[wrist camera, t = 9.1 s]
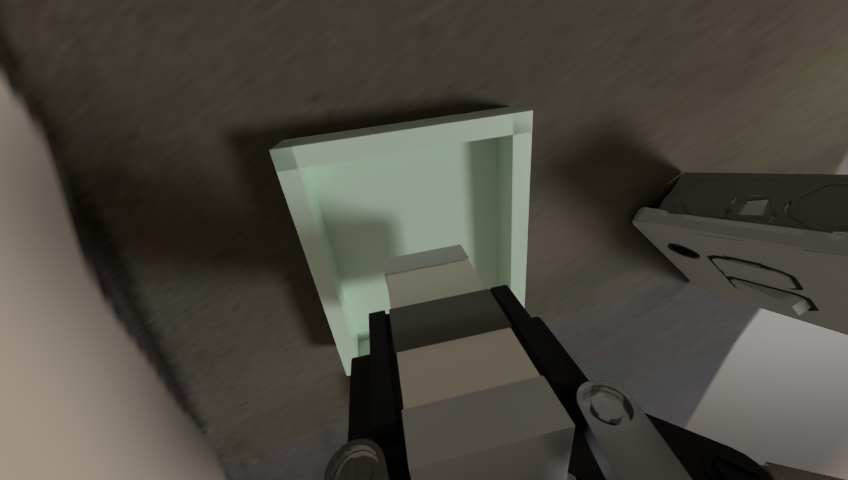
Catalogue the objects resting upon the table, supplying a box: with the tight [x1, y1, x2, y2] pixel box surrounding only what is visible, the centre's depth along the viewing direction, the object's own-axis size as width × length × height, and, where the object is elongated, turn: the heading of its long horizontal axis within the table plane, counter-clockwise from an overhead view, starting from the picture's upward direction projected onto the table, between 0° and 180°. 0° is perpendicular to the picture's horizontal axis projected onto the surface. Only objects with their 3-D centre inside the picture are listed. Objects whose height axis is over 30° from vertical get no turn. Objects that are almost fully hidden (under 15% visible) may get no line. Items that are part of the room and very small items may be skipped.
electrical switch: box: [632, 173, 848, 335], centre depth 15 cm, size 9×5×9 cm, turn 52°
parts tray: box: [269, 106, 533, 376], centre depth 15 cm, size 12×10×2 cm
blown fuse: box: [383, 244, 575, 480], centre depth 10 cm, size 3×3×8 cm
